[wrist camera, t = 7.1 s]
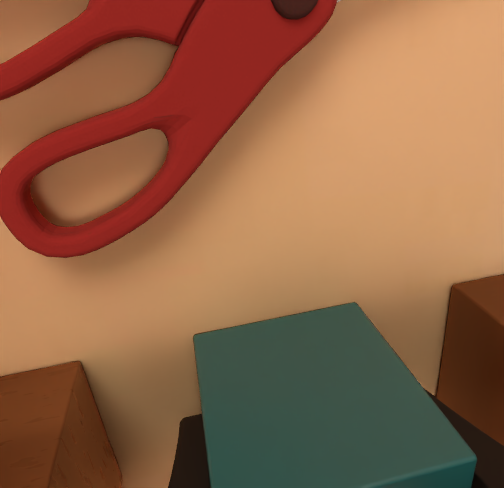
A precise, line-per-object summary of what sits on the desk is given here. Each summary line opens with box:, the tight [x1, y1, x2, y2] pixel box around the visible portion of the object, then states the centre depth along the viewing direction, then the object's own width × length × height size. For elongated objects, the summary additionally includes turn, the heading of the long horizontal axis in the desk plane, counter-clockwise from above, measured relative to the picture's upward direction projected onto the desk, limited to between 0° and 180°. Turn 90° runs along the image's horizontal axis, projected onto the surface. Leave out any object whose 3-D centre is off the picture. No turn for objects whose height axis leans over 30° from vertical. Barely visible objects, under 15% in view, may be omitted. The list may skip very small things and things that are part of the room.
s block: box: [193, 302, 477, 488], centre depth 10 cm, size 5×5×5 cm
